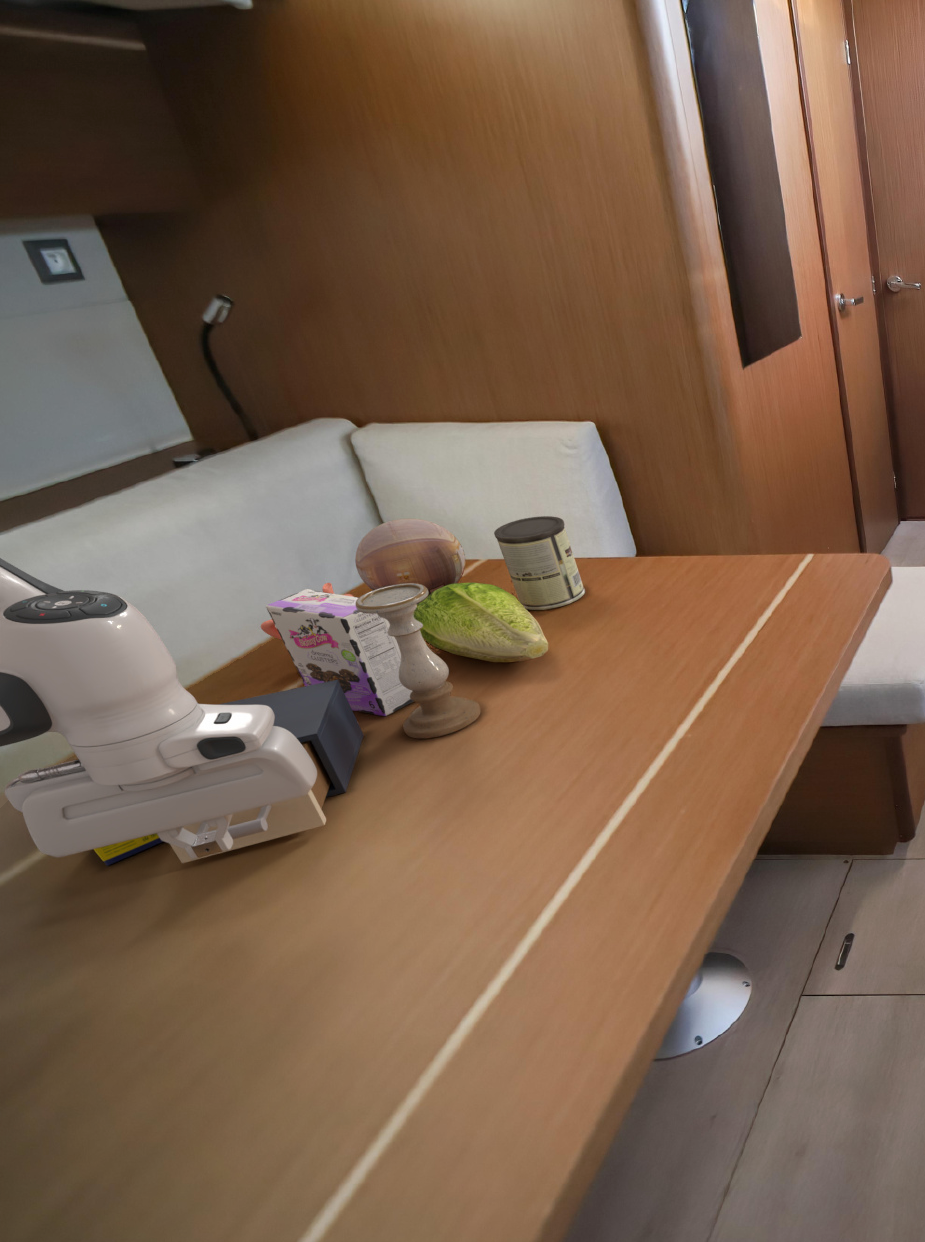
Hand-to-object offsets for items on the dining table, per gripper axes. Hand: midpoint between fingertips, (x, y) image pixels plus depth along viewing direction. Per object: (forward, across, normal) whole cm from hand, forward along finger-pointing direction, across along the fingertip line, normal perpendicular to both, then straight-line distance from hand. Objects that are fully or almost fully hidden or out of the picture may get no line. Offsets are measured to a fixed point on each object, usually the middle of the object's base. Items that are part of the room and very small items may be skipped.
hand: (213, 851), depth 94 cm
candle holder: (+6, +16, +29) cm, 34 cm away
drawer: (+5, 0, +13) cm, 14 cm away
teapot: (+6, 0, +60) cm, 61 cm away
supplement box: (+6, -13, +17) cm, 22 cm away
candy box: (+6, +6, +42) cm, 43 cm away
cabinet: (+6, 0, +24) cm, 24 cm away
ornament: (+6, +10, +79) cm, 80 cm away
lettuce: (+6, +22, +49) cm, 54 cm away
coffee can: (+6, +29, +68) cm, 74 cm away
